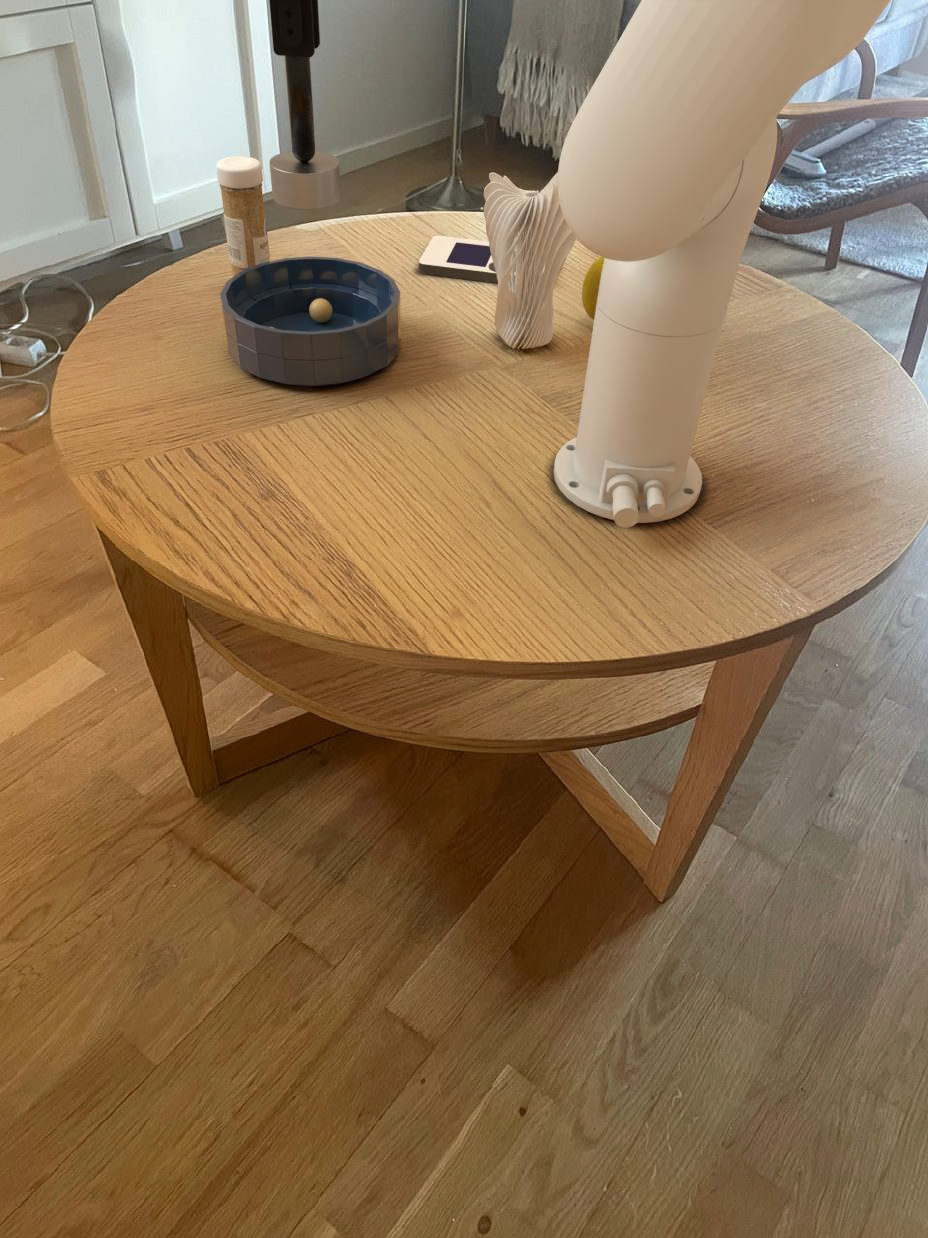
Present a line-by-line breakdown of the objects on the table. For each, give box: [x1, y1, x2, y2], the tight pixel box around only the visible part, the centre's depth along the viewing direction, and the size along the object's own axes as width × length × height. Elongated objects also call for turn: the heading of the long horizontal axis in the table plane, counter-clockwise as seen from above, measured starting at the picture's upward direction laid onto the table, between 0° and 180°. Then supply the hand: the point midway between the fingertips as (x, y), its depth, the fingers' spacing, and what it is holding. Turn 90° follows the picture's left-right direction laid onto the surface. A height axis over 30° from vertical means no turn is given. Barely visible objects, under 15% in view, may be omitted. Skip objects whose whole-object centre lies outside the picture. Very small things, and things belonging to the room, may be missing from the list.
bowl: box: [219, 255, 402, 387], centre depth 92 cm, size 17×17×6 cm
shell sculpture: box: [483, 171, 577, 350], centre depth 90 cm, size 8×8×18 cm
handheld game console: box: [418, 235, 545, 286], centre depth 110 cm, size 9×15×1 cm, turn 79°
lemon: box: [581, 256, 605, 321], centre depth 98 cm, size 6×6×8 cm
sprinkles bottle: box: [215, 155, 271, 277], centre depth 99 cm, size 5×5×13 cm
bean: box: [309, 298, 333, 323], centre depth 96 cm, size 2×2×2 cm
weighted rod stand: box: [269, 56, 342, 211], centre depth 76 cm, size 6×6×17 cm
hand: (297, 48), depth 74 cm, fingers closed on weighted rod stand
